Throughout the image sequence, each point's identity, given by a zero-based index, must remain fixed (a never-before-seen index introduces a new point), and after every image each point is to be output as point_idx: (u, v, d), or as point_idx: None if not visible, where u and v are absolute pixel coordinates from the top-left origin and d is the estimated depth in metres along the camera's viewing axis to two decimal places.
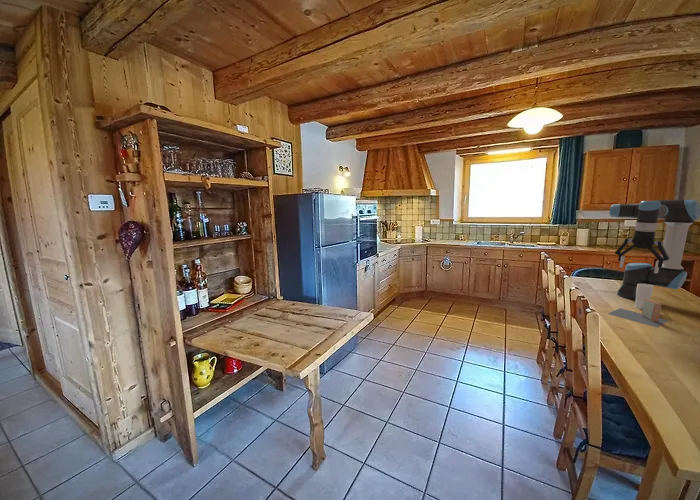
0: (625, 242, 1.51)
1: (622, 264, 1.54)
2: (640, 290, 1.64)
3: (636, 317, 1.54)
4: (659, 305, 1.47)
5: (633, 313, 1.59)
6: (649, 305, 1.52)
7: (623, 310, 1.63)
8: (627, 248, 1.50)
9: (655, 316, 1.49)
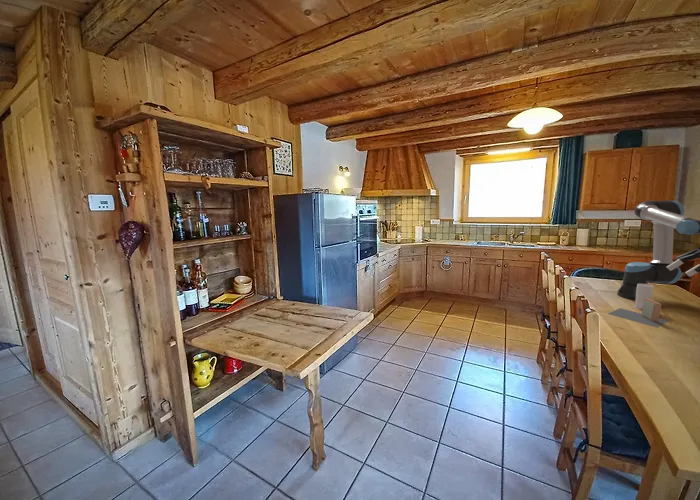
0: None
1: None
2: (640, 290, 1.64)
3: (636, 317, 1.54)
4: (659, 305, 1.47)
5: (633, 313, 1.59)
6: (649, 305, 1.52)
7: (623, 310, 1.63)
8: None
9: (655, 316, 1.49)
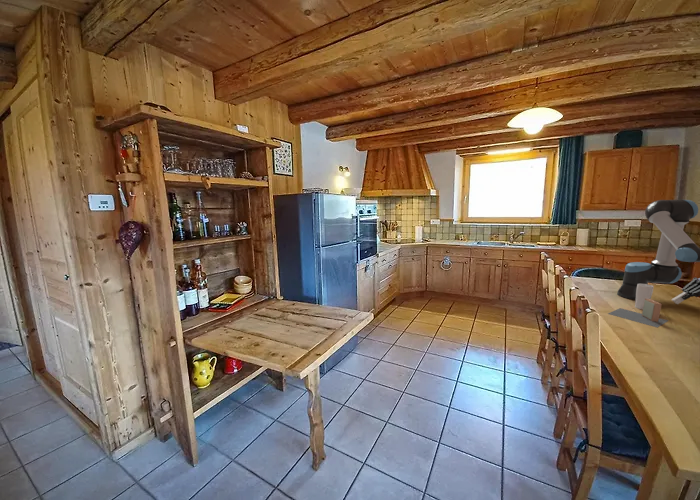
0: None
1: None
2: (640, 290, 1.64)
3: (636, 317, 1.54)
4: (659, 305, 1.47)
5: (633, 313, 1.59)
6: (649, 305, 1.52)
7: (623, 310, 1.63)
8: None
9: (655, 316, 1.49)
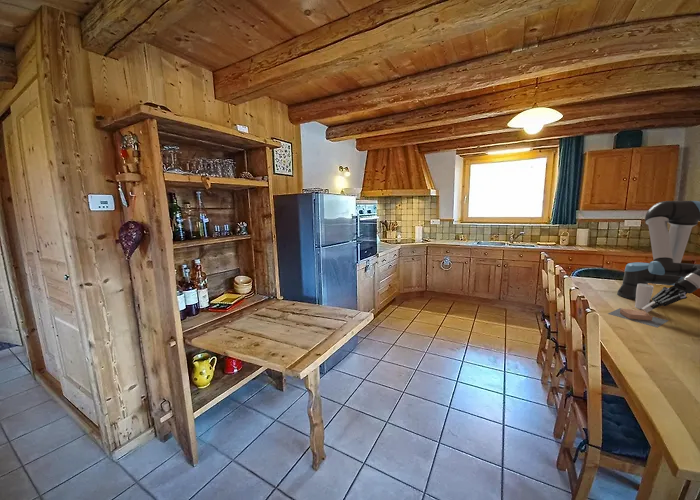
0: None
1: None
2: (640, 290, 1.64)
3: None
4: (631, 315, 1.52)
5: None
6: None
7: None
8: None
9: (645, 318, 1.50)
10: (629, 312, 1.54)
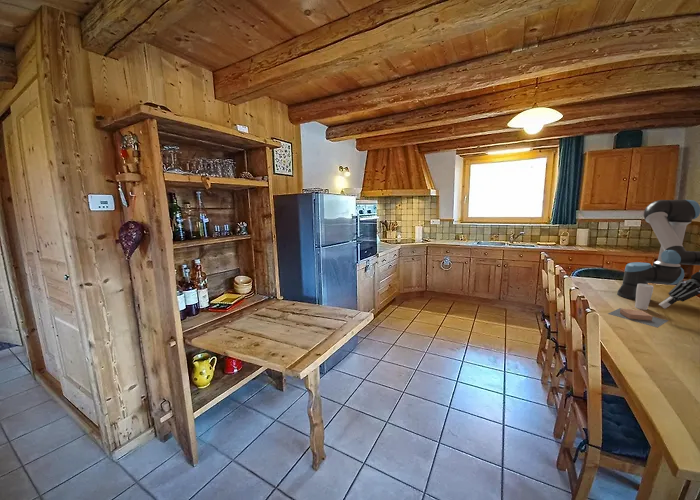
0: None
1: None
2: (640, 290, 1.64)
3: None
4: (631, 315, 1.52)
5: None
6: None
7: None
8: None
9: (645, 318, 1.50)
10: (629, 312, 1.54)
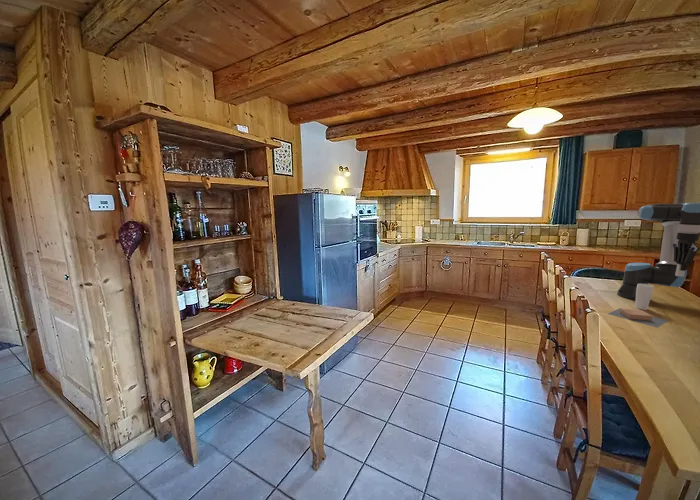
0: None
1: None
2: (640, 290, 1.64)
3: None
4: (631, 315, 1.52)
5: None
6: None
7: None
8: None
9: (645, 318, 1.50)
10: (629, 312, 1.54)
